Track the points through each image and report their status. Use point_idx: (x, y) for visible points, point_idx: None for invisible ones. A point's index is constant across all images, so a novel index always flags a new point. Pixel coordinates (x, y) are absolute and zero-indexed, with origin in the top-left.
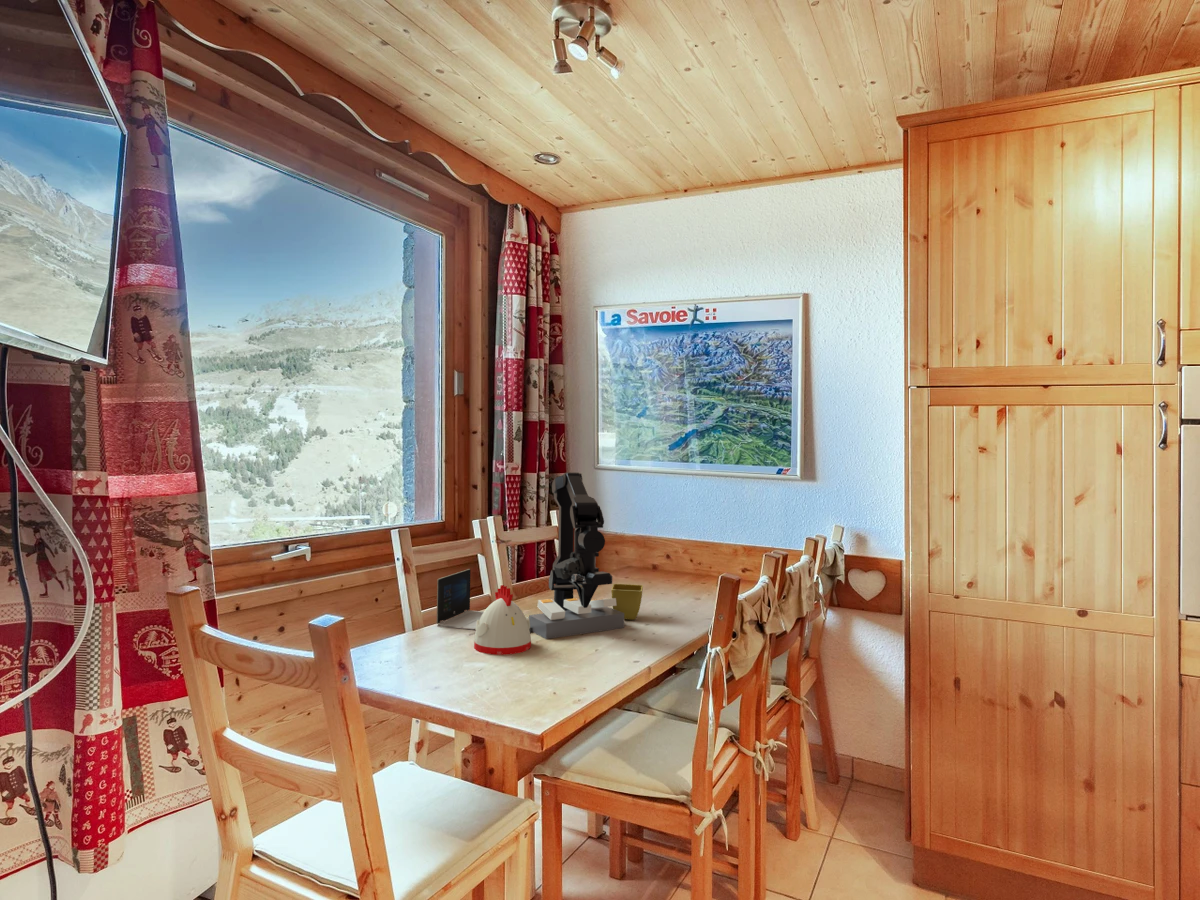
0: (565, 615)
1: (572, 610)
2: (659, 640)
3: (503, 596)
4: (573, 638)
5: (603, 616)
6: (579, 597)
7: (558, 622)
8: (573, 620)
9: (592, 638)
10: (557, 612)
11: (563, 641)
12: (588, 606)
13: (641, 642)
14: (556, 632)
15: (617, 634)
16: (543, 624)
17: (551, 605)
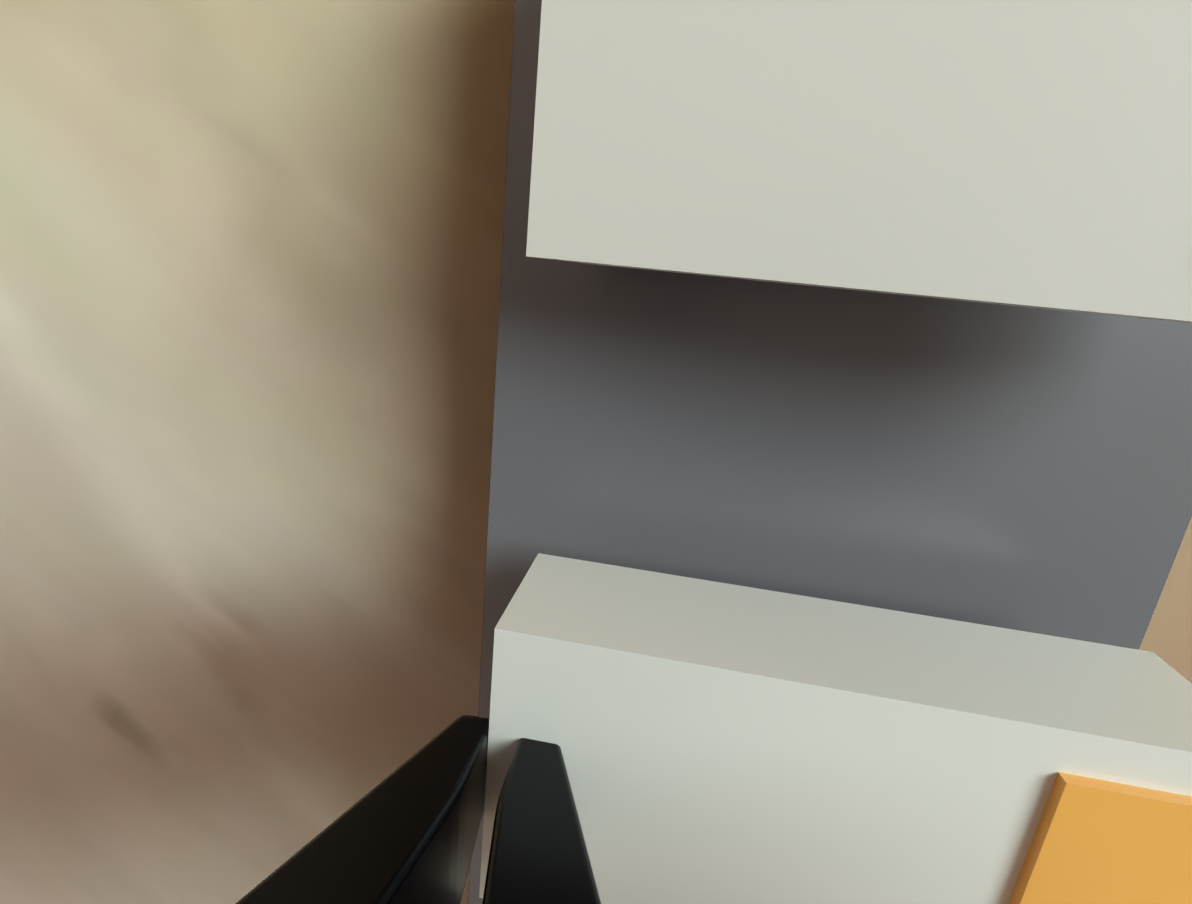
0: (835, 465)
1: (757, 595)
2: (41, 850)
3: None
4: (425, 274)
5: (472, 856)
6: (563, 893)
7: (512, 60)
8: (497, 391)
9: (326, 455)
10: (548, 7)
11: (367, 76)
12: (488, 824)
13: (34, 714)
14: None
15: (341, 735)
16: None
17: (1023, 32)
